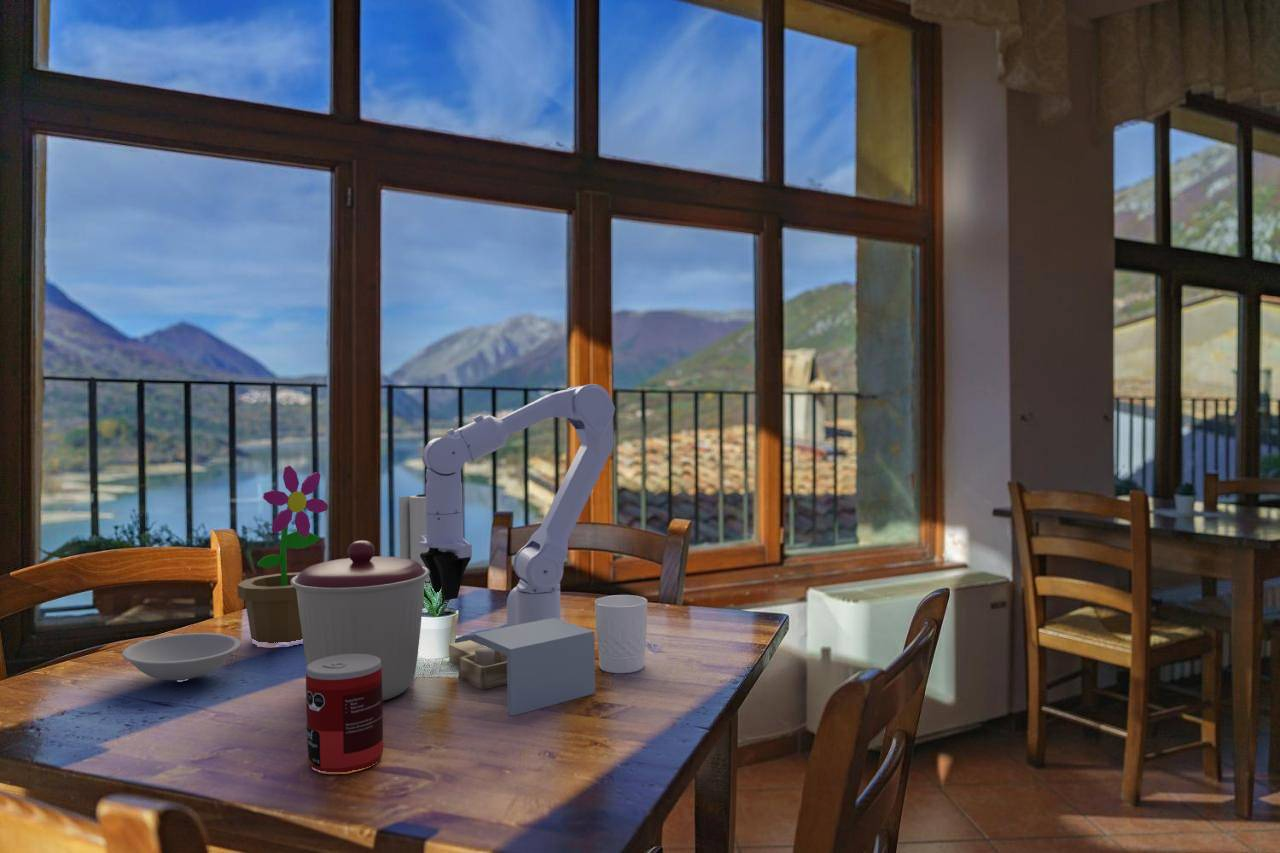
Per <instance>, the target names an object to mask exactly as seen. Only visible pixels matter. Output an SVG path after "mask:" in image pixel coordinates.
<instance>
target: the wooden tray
mask: <svg viewBox="0 0 1280 853" xmlns="http://www.w3.org/2000/svg"><path fill="white" fill-rule="evenodd" d="M448 653H449V654H448V659H449V660H448V661H449V662H450V661H451V663H452V662H453V664H454V665H456V664H457V665H456V666H458V678H459V679H460V680H462V681H464V682H466V683H468V684H469V685H472V686H474V687H476V688H477V689H480V690H481V691H483V690H488V689H491V688H496V687H500V686H504V685H507V655H505V654H502V653H500V652H498V651H495V650H493V649H491V648H488V647H486V646H484V645H482V644H479V643H477V642H475V641H473V640H471V639H469V640H464V641H459V642H453V643H449V644H448Z"/></svg>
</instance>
